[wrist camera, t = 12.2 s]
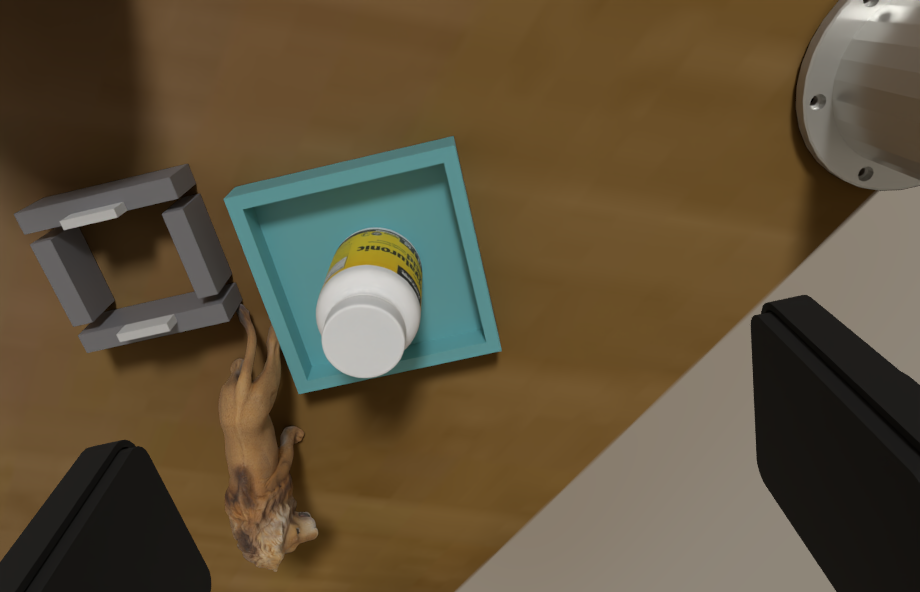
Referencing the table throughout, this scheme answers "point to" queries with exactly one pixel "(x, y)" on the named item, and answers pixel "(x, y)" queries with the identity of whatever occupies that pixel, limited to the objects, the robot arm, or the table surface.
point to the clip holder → (84, 282)
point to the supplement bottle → (370, 302)
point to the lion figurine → (260, 459)
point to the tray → (355, 208)
